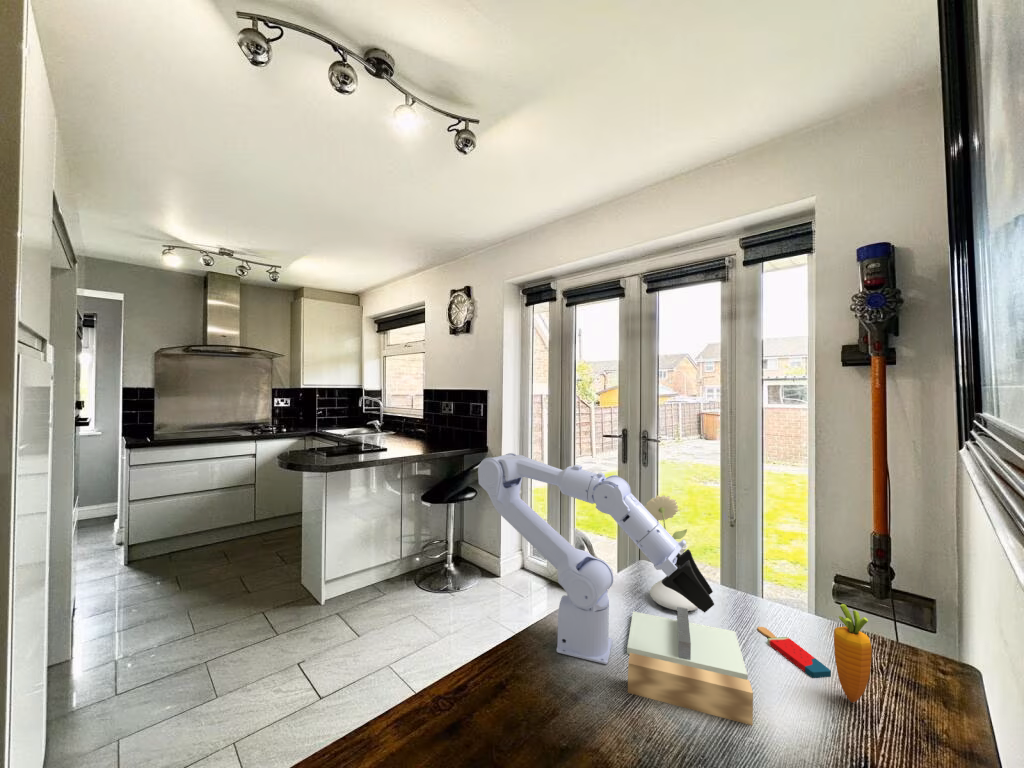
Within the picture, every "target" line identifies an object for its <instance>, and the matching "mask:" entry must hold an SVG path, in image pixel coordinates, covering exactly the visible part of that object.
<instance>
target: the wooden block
mask: <svg viewBox="0 0 1024 768" xmlns="http://www.w3.org/2000/svg"><path fill="white" fill-rule="evenodd" d="M628 655H629V657H628V662H627V663H628V664H627V668H628V669H627V693H628V694H632V695H636V696H639V697H643V698H647V699H650V700H651V699H652V700H654V701H659V702H662V703H665V704H669V705H673V706H677V707H679V708H680V707H681V708H685V709H688V710H691V711H696V712H699V713H700V712H701V713H703V714H708V715H712V716H716V717H718V718H722V719H726V720H731V721H734V722H737V723H738V722H739V723H741V724H746V725H749V726H753V721H754V720H753V719H754V717H753V715H754V691H753V689H752V684H751V682H750V679H748V680H746V679H742V678H737V677H733V676H729V675H724V674H720V673H716V672H711V671H707V670H703V669H698V668H694V667H690V666H685V665H681V664H677V663H673V662H668V661H664V660H660V659H655V658H651V657H647V656H642V655H638V654H634V653H630V654H628Z"/></svg>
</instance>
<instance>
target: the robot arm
mask: <svg viewBox="0 0 1024 768" xmlns="http://www.w3.org/2000/svg"><path fill="white" fill-rule="evenodd" d="M477 474H478V475H477V476H478V478H477V479H478V485H479V486H480V487H481V488H482V489H483V490H484V491H485V492H486V493H487V494H488V497H489V499H490V501H491V504H492V505H493V507H494V510H495V511H496V512H497V513H498V514H499V515H500V516H501V517H502V518H503V519H504V520H505V521H506V522H508V523H509V525H510V526H511V527H513V529H515V530H516V531H517V532H518V533H519V534H520V535H521V536H522V537H523V538H524V539H525V540H526V541H527V542H528V543H529V544H530V545H531V546H532V547H533V548H534V549H535V550H536V551H537V552H539V554H540V555H542V557H544V559H545V560H547V562H548V563H550V565H552V566H553V567H554V568H555V569H556V572H557V582H558V584H559V585H560V586H561V587H562V588H563V590H564V591H565V595H562V596H561V599H560V602H559V605H558V612H557V614H558V615H557V647H556V652H557V654H558V653H559V654H562V655H566V656H571V657H575V658H579V659H583V660H587V661H591V662H596V663H599V664H602V665H603V664H604V665H608V663H609V660H610V656H611V655H610V654H611V650H612V646H613V642H614V641H613V638H611V637H609V632H610V631H609V628H610V626H609V625H610V623H609V622H610V617H609V615H610V599H609V595H608V590H610V588H611V587H612V586H613V584H614V581H615V580H614V579H615V576H614V573H613V570H612V568H611V566H610V565H609V564H608V563H607V562H606V561H605V560H604V559H601V558H597V557H595V556H594V555H592V554H591V553H589V552H588V551H586V550H582V549H579V548H575V546H573V545H572V544H571V543H570V542H569V541H568V540H567V539H566V538H565V537H564V536H562V535H561V534H560V533H559V532H558V531H557V530H556V529H554V528H553V526H551V525H550V523H548V522H547V521H546V520H545V519H543V517H541V515H539V514H538V512H536V511H535V510H534V509H533V508H532V507H530V506H529V504H527V502H525V501H524V500H523V499H522V498H521V496H520V495H521V494H520V492H521V488H522V487H521V486H522V481H523V478H527V479H531V480H535V481H539V482H541V483H546V484H550V485H553V486H557V487H558V488H559V491H560V492H561V494H562V495H564V496H568V497H571V498H574V499H577V500H580V501H583V502H585V503H589V504H592V505H593V504H595V509H597V511H599V512H600V513H603V514H606V515H609V516H610V517H612V519H613V520H614V521H615V522H616V524H617V525H618V526H619V527H620V528H621V529H622V531H624V533H625V534H626V536H628V537H629V538H630V540H631V541H632V542H633V543H634V544H635V545H636V546H637V547H638V548H639V550H640V551H641V552H642V554H644V556H645V557H646V558H647V559H648V560H649V561H650V562H651V563H652V565H653V567H654V569H655V570H656V571H660V570H661V571H662V572H663V573H664V574H665V575H666V576H665V577H664V578H663V580H662V579H661V580H662V584H663V585H664V586H666V587H668V588H670V589H672V590H674V591H676V592H678V593H679V594H681V595H682V596H684V597H685V598H686V599H688V600H689V601H690V602H691V603H693V604H694V605H695V606H696V607H698V608H697V609H699V610H700V611H701V612H702V613H706V612H707V611H709V610H710V609H711V608H712V607H713V606H715V602H714V601H713V599H712V597H711V596H710V595H711V594H712V593H713V592H714V591H713V589H712V587H711V585H710V584H709V583H708V581H707V580H706V578H705V576H704V575H703V573H702V572H701V571H700V569H699V568H698V566H697V564H696V561H695V559H694V557H693V553H692V552H691V550H690V549H688V548H687V549H686V550H685V551H684V553H683V554H682V555H680V554H681V553H680V551H681V549H682V548H683V546H684V545H685V544H686V545H687V540H685V539H683V538H682V540H681V541H678V540H677V539H674V538H673V537H672V536H673V535H671V534H670V533H669V532H668V531H667V529H666V530H665V528H666V527H665V528H664V525H662V524H661V523H660V522H659V520H656V519H655V518H654V517H653V516H652V514H651V513H650V512H649V511H648V510H647V509H646V508H645V505H643V504H642V502H640V500H638V499H637V498H636V496H635V495H634V494H633V493H632V489H631V488H632V487H631V486H630V484H629V483H628V482H627V481H626V480H625V479H624V478H622V477H620V476H619V475H617V474H616V475H614V474H613V475H609V476H607V477H606V473H604V472H598V473H596V472H592V471H589V470H585V469H583V466H582V465H580V464H575V465H573V466H571V465H570V466H567V467H565V468H564V469H561V468H558V467H555V466H552V465H549V464H546V463H544V462H541V461H538V460H535V459H532V458H530V457H527V456H525V455H523V454H515V453H513V452H511V453H510V452H509V453H506V454H504V455H499V456H494V457H485V458H483V459H482V460H481V462H480V463H479V465H478V468H477ZM677 541H678V542H679V543H678V542H677Z"/></svg>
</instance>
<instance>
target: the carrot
mask: <svg viewBox="0 0 1024 768" xmlns="http://www.w3.org/2000/svg"><path fill="white" fill-rule="evenodd" d="M839 607H840V610H841V612H842V614H843V615H844V616H845V617H843V616H841V615H839V616H838V619H839V620H841V622H842V623H843V625H844V626H837V627H834V629H833V644H834V645H833V649H834V658H835V659H834V660H835V665H836V672H837V676H838V681H839V683H840V685H841V689H842V690H843V693H844V694H845V696H846V699H848V700H849V702H850V703H856V702H857V701H858V700H860V698H861V697H862V696H863V695H864V693H865V691H866V689H867V685H868V682H869V679H870V674H871V667H872V652H873V651H872V650H873V649H872V644H871V643H872V642H871V639H870V637H869V636H868V635H867V634H866V633H864V632H862V631H861V629H863V627H864V626H865V625H866V624H867V623H868V622H869V620H868V618H866V617H865V616H864V617H862V618H861V616H860V613H859V611H857V610H852V614H851V612H850V610H849V608H848V607H847V605H846V604H844V603H841V604H840V605H839ZM852 615H853V617H852Z"/></svg>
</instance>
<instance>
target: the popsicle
mask: <svg viewBox="0 0 1024 768" xmlns="http://www.w3.org/2000/svg"><path fill="white" fill-rule="evenodd" d="M757 631H758V632H759V633H761V634H762V635H763V636H765V637H767V639H766V640H767V642H766V643H767V645H769V646H770V647H771V648H772V649H774V650H775V651H776V652H778V653H779V654H780V655H782V656H783V657H784V658H785V659H787V660H788V661H789V662H791V663H792V664H793V665H794V666H796V667H798V669H800V671H802V672H804V673H806V675H808V676H809V677H810V678H812V679H820V678H830V677H831V676H832V671H831V669H830V668H828V667H827V666H826V665H824V664H823V663H822V662H821V661H820V660H818V659H817V658H815V657H814V656H813V655H812V654H810V653H809V652H808V651H807V650H805V649H804V648H803V647H801V646H800V645H798V643H796V642H795V641H793V640H792V639H791V638H789V637H788V636H784V637H783V636H782V637H780V636H779V637H777V636H776V635H775V634H774V633H773V632H772V631H770V630H769V629H768V628H766V627H765V626H757ZM831 678H832V677H831Z"/></svg>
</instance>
